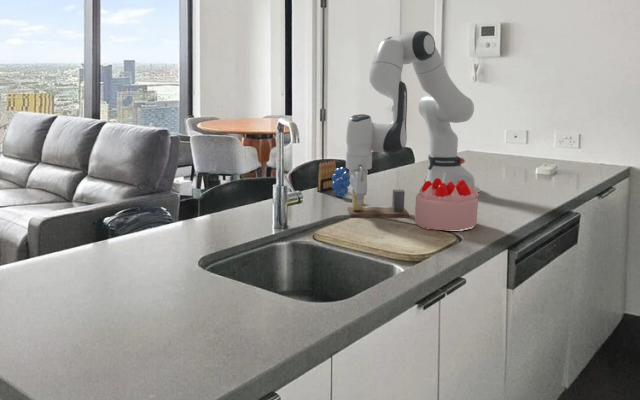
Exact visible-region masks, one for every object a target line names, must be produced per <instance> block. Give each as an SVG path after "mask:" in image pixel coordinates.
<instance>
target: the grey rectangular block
mask: <svg viewBox="0 0 640 400" xmlns="http://www.w3.org/2000/svg"><path fill="white" fill-rule="evenodd" d="M405 194H406V193H405V190H404V189H392V201H391V202H392V203H391V205H392V206H391V207H392V210H393V211H394V212H404V208H405Z"/></svg>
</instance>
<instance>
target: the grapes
mask: <svg viewBox="0 0 640 400" xmlns="http://www.w3.org/2000/svg"><path fill="white" fill-rule="evenodd" d="M334 173H335V174H334V175H333V176H332V180H333V181H334V182H333V183H332V184H331V187H332V188H333V191H332V193H333V195H334V196H337V197H338V198H339V199H340V198H343V197H344V196H345V195H347V194H348V192H349V188H348V187H349V186H351V183H350V175H349V171H347V168H346V167H343V166H341V167H340V168H339V167H336V170H335V172H334Z"/></svg>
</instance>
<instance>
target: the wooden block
mask: <svg viewBox="0 0 640 400" xmlns="http://www.w3.org/2000/svg"><path fill="white" fill-rule="evenodd" d="M364 197H365V195H363V196H362V204H361V205H357V204H356V193H355V191H354V189H353V188H352V198H351V199H352V201H351V202H352V204H351V207H352V209H353V210H363V207H365V206H364V205H365V204H364V201H365V198H364Z"/></svg>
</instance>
